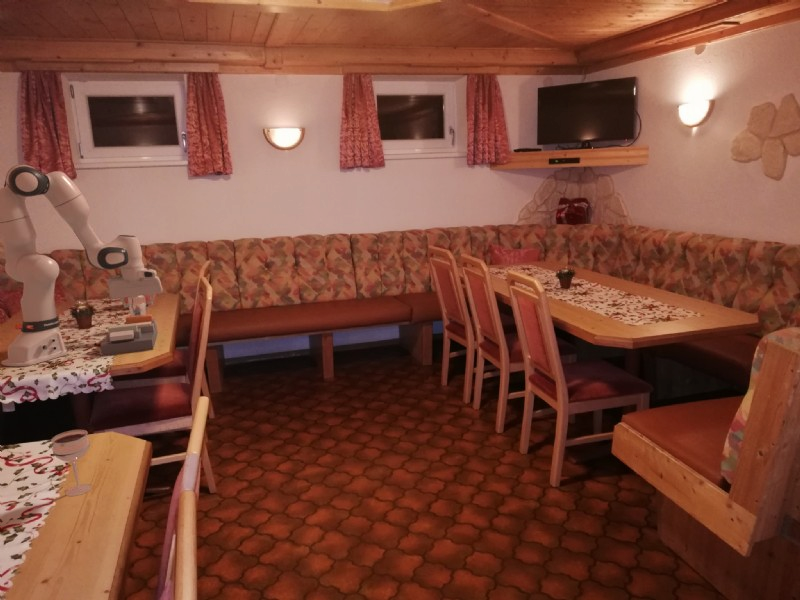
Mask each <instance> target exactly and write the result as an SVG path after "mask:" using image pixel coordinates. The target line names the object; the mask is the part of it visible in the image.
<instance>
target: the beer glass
mask: <svg viewBox="0 0 800 600" xmlns="http://www.w3.org/2000/svg"><path fill="white" fill-rule="evenodd" d="M128 303H129V306H128V309H129V313H130V316H137V315H146V314H147V305H146V302H145V297H144V295H142V296H134V297H128Z"/></svg>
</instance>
